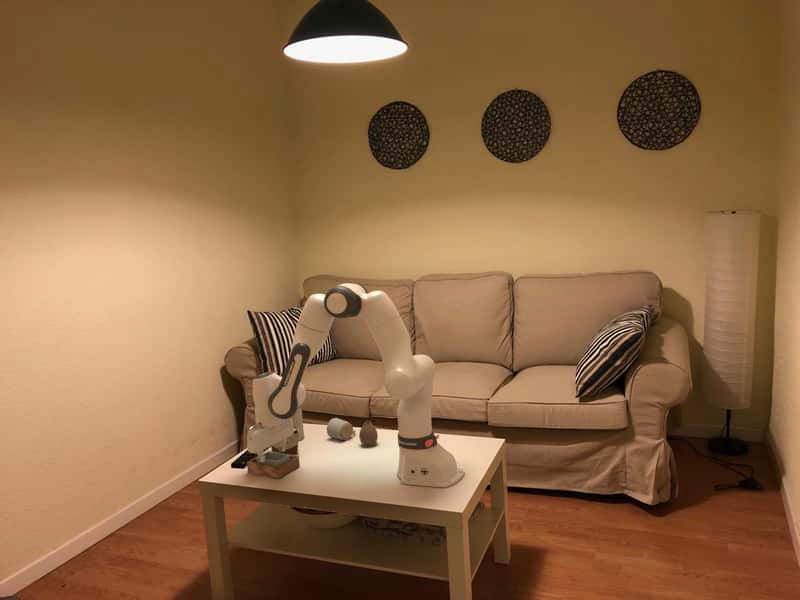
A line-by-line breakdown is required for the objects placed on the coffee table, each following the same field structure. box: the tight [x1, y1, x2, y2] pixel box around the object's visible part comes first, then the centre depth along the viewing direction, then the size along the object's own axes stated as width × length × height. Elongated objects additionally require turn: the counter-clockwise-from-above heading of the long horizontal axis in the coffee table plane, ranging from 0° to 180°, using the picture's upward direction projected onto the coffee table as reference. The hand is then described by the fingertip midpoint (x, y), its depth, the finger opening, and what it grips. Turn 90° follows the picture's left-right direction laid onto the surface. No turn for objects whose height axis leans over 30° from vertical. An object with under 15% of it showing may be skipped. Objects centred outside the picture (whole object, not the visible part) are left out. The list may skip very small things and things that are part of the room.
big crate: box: [246, 450, 301, 480], centre depth 242 cm, size 14×12×4 cm
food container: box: [270, 425, 300, 456], centre depth 258 cm, size 12×6×10 cm, turn 84°
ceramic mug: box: [326, 417, 357, 441], centre depth 269 cm, size 11×8×8 cm
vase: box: [358, 421, 379, 448], centre depth 259 cm, size 7×7×9 cm
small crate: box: [255, 450, 290, 467], centre depth 242 cm, size 10×6×4 cm, turn 58°
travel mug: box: [291, 404, 305, 442], centre depth 271 cm, size 8×8×18 cm
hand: (273, 456), depth 241 cm, fingers open, 8 cm apart
